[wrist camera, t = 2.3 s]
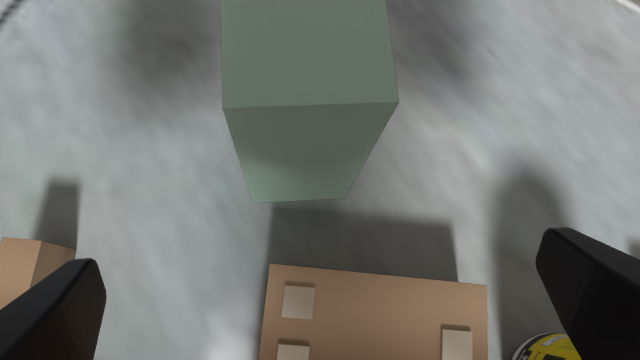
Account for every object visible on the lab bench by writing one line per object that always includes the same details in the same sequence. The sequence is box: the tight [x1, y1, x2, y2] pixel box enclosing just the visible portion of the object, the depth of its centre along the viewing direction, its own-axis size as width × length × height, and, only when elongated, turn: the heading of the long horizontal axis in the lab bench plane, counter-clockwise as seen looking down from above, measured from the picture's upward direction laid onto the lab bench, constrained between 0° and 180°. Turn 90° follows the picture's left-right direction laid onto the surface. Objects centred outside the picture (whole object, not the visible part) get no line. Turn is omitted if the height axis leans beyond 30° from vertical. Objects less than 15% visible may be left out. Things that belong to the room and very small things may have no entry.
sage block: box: [221, 0, 399, 203], centre depth 17 cm, size 4×4×11 cm
